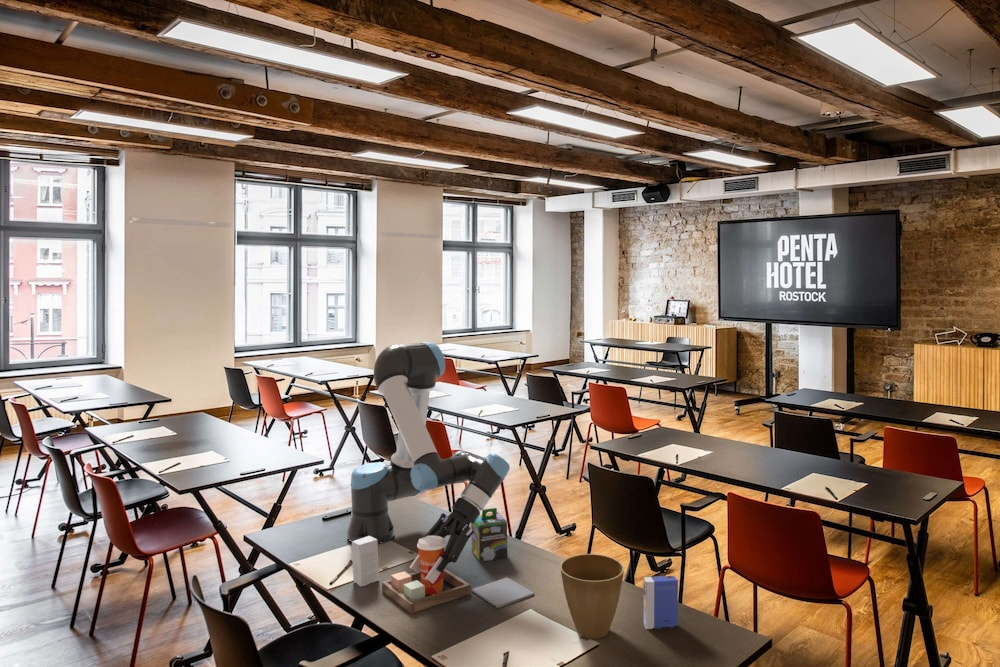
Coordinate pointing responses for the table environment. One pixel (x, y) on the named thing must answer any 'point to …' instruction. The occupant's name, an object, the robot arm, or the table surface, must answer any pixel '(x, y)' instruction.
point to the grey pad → (502, 592)
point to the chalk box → (489, 536)
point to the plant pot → (592, 592)
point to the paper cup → (430, 561)
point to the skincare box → (365, 561)
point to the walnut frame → (429, 601)
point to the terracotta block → (400, 581)
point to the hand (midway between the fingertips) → (421, 575)
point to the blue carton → (660, 601)
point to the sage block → (414, 590)
